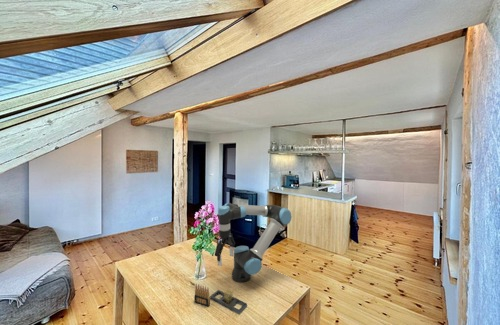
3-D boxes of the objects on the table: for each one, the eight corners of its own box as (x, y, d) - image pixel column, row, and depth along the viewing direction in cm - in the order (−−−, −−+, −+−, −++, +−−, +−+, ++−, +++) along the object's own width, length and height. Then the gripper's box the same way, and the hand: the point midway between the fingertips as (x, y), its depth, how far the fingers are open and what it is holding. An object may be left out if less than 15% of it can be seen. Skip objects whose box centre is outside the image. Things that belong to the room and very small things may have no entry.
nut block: (227, 299, 132) (227, 289, 132) (232, 302, 129) (232, 291, 129) (223, 303, 128) (223, 292, 128) (228, 306, 126) (228, 294, 126)
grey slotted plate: (218, 292, 139) (218, 289, 139) (247, 306, 125) (247, 303, 125) (210, 299, 132) (210, 296, 132) (239, 314, 119) (239, 311, 119)
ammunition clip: (210, 305, 127) (209, 286, 127) (208, 307, 125) (208, 288, 125) (196, 300, 131) (195, 282, 131) (194, 302, 129) (194, 284, 129)
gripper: (230, 223, 149) (231, 251, 149) (208, 235, 127) (209, 268, 128) (239, 224, 145) (240, 253, 146) (217, 237, 123) (218, 271, 124)
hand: (225, 260), depth 137 cm, fingers open, 13 cm apart
